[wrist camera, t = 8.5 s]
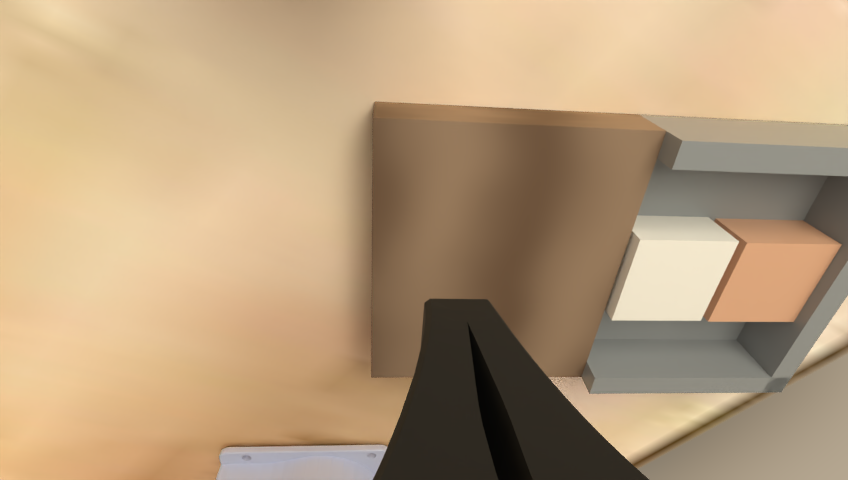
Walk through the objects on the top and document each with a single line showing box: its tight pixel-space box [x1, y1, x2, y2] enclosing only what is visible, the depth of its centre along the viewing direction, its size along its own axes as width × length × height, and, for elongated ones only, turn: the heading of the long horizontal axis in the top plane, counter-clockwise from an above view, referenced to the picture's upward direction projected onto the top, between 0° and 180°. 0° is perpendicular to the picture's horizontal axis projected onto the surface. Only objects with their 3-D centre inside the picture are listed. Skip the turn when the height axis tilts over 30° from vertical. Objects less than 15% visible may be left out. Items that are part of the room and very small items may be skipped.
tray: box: [582, 115, 848, 394], centre depth 19 cm, size 10×12×3 cm
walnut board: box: [371, 102, 666, 377], centre depth 19 cm, size 10×12×2 cm
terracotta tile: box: [703, 218, 842, 322], centre depth 20 cm, size 4×4×2 cm
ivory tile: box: [605, 215, 739, 321], centre depth 19 cm, size 4×4×2 cm
